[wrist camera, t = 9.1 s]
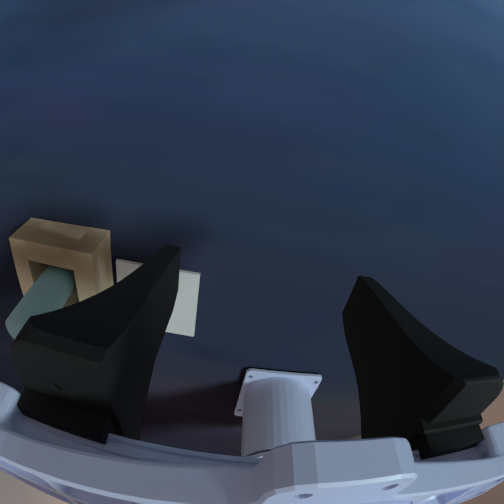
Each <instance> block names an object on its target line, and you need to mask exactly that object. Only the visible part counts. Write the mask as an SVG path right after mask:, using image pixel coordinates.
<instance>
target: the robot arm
mask: <svg viewBox="0 0 504 504" xmlns="http://www.w3.org/2000/svg"><path fill="white" fill-rule="evenodd" d="M180 255H181V247H175V246H169V245H165V246H164V247H162V248H161V249H160V250H159V251H158V252H157V253H155V254H154V255H153V256H152V257H151V258H149V259H148V260H147V261H146V262H145V263H143V264H142V265H141V266H140V267H138V268H137V269H136V270H134V271H133V272H132V273H130V274H129V275H128V276H126V277H125V278H123V279H122V280H120V281H119V282H117V283H116V284H114V285H112V286H111V287H109V288H107V289H105V290H104V291H102V292H100V293H98V294H96V295H93V296H91V297H89V298H87V299H85V300H83V301H80V302H78V303H75V304H72V305H70V306H67V307H64V308H61V309H58V310H54V311H50V312H46V313H42V314H38V315H34V316H30V317H29V319H28V320H27V321H26V323H25V324H24V326H23V327H22V329H21V330H20V332H19V333H18V335H17V336H16V338H15V340H14V341H13V343H12V344H11V346H10V356H11V359H12V362H13V364H14V366H15V368H16V370H17V372H18V374H19V376H20V378H21V379H22V381H23V383H24V385H25V388H24V390H23V392H22V395H21V393H20V392H18V391H17V390H16V389H14V388H13V387H11V386H9V385H6V384H4V383H2V382H0V470H2V471H4V472H5V473H7V474H9V475H11V476H13V477H15V478H16V479H18V480H20V481H22V482H24V483H26V484H28V485H30V486H32V487H34V488H36V489H38V490H40V491H42V492H44V493H46V494H49V495H51V496H53V497H55V498H58V499H60V500H62V501H64V502H67V503H69V504H459V503H462V502H464V501H467V500H469V499H472V498H474V497H476V496H478V495H481V494H482V493H484V492H486V491H488V490H489V489H491V488H492V487H494V486H495V485H497V484H499V483H500V482H502V481H503V480H504V424H503V423H498V424H495V425H491V426H488V427H485V428H484V429H482V430H481V428H480V426H479V424H480V423H482V421H483V419H482V417H481V413H482V412H483V411H484V410H485V409H486V408H487V407H488V406H489V405H490V404H491V403H492V402H493V401H494V400H495V399H496V397H497V396H498V395H499V393H500V392H501V390H502V387H503V384H504V383H503V380H502V378H501V376H500V374H499V372H498V371H497V369H496V368H495V367H492V366H490V365H488V364H485V363H483V362H481V361H478V360H476V359H474V358H472V357H470V356H469V355H467V354H465V353H463V352H461V351H459V350H458V349H456V348H454V347H453V346H451V345H450V344H448V343H447V342H445V341H444V340H442V339H441V338H439V337H438V336H437V335H435V334H434V333H433V332H431V331H430V330H429V329H428V328H426V327H425V326H424V325H423V324H421V323H420V322H419V321H418V320H417V319H416V318H415V317H414V316H412V315H411V314H410V313H409V312H408V311H407V310H406V309H405V308H404V307H403V306H402V305H401V304H400V303H399V302H398V301H397V300H396V299H395V298H393V297H392V296H391V295H390V294H389V293H388V292H387V291H386V290H385V289H384V288H383V287H382V286H381V285H380V284H379V283H378V282H376V281H375V280H374V279H373V278H370V277H364V276H358V278H357V281H356V283H355V286H354V288H353V290H352V292H351V295H350V297H349V299H348V302H347V304H346V306H345V308H344V310H343V313H342V314H343V324H344V331H345V336H346V340H347V344H348V348H349V352H350V355H351V359H352V363H353V367H354V371H355V375H356V379H357V384H358V391H359V400H360V412H361V439H352V440H315V431H314V422H313V414H312V406H311V397H312V396H313V394H314V392H315V391H316V389H317V387H318V385H319V384H320V382H321V380H322V376H321V375H319V374H306V373H293V372H282V371H272V370H262V369H253V368H249V369H247V370H246V373H245V377H244V380H243V384H242V387H241V391H240V394H239V397H238V401H237V404H236V408H235V411H234V414H235V415H236V416H243V418H242V446H241V456H242V457H239V456H228V455H219V454H211V453H203V452H196V451H190V450H184V449H178V448H172V447H167V446H162V445H157V444H152V443H147V442H143V441H140V434H141V427H142V421H143V415H144V410H145V404H146V399H147V394H148V389H149V384H150V380H151V375H152V371H153V367H154V362H155V359H156V356H157V353H158V350H159V347H160V345H161V342H162V339H163V337H164V334H165V331H166V329H167V326H168V323H169V320H170V318H171V315H172V312H173V309H174V305H175V301H176V297H177V293H178V286H179V270H180Z"/></svg>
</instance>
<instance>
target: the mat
mask: <svg viewBox="0 0 504 504" xmlns="http://www.w3.org/2000/svg"><path fill="white" fill-rule="evenodd" d="M142 264H143V263H139V262H133V261H128V260H122V259H116V273H117V282H119V281H120V280H122V279H123V278H125V277H126V276H128V275H129V274H130V273H132V272H133V271H134V270H136V269H137V268H138V267H140V266H141V265H142ZM199 281H200V273H197V272H191V271H185V270H179V286H178V293H177V297H176V301H175V305H174V309H173V312H172V315H171V318H170V320H169V323H168V326H167V329H166V331H165V332H170V333H175V334H181V335H187V336H193V337H194V332H195V321H196V311H197V301H198V291H199Z"/></svg>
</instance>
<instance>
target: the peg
mask: <svg viewBox="0 0 504 504" xmlns="http://www.w3.org/2000/svg"><path fill="white" fill-rule="evenodd" d="M75 288H76V281H75V275H74V270H70V269H65V268H61V267H56V266H52V265H49V266H48V267H47V268H46V269H45V270H44V272H43V273H42V274H41V275H40V276H39V278H38V279H37V280H36V281H35V283H34V284H33V285H32V286H31V288H30V289H29V290H28V291H27V293H26V294H25V295H24V297H23V298H22V299H21V301H20V302H19V303H18V305H17V306H16V307H15V309H14V310H13V311H12V313H11V314H10V315H9V317H8V318H7V319H6V322H5V324H6V328H7V330H8V332H9V334H10V335H11V336H12V338H13V339H14V340H15V338H16V336H17V335H18V333H19V332H20V330H21V329H22V327H23V326H24V324H25V323H26V321H27V320H28V319H29V317H30V316H34V315H38V314H42V313H46V312H50V311H54V310H58V309H61V308H63V306H64V304H65V303H66V301H67V300H68V298H69V297H70V295H71V294H72V292H73V291H74V289H75Z"/></svg>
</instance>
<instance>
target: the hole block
mask: <svg viewBox="0 0 504 504" xmlns="http://www.w3.org/2000/svg"><path fill="white" fill-rule="evenodd" d="M9 241H10V246H11V250H12V255H13V259H14V263H15V267H16V271H17V275H18V279H19V282H20V286H21V290H22V293H23V296H24V295H25V294H26V293H27V291H28V290H29V289H30V288H31V286H32V285H33V284H34V283H35V281H36V280H37V279H38V278H39V276H40V275H41V274H42V273H43V272H44V270H45V269H46V268H47V267H48V266H49V265H52V266H56V267H61V268H65V269H70V270H74V275H75V281H76V288H75V289H74V291H73V292H72V294H71V295H70V297H69V298H68V300H67V301H66V303H65V304H64V306H63V308H64V307H67V306H70V305H72V304H75V303H78V302H80V301H83V300H85V299H87V298H89V297H91V296H93V295H96V294H98V293H100V292H102V291H104V290H105V289H107V288H109V287H111V286H112V285H114V284H113V272H112V258H111V241H110V230H104V229H98V228H91V227H85V226H79V225H73V224H67V223H61V222H55V221H49V220H42V219H36V218H30V219H29V220H28V221H27V222H26V223H25V224H23V225H22V226H21V227H20V228H19V229H18V230H17V231H15V232H14V233H13V234H12V235H11V236H10V237H9Z"/></svg>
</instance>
